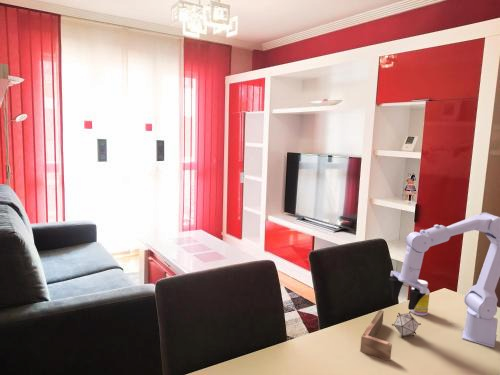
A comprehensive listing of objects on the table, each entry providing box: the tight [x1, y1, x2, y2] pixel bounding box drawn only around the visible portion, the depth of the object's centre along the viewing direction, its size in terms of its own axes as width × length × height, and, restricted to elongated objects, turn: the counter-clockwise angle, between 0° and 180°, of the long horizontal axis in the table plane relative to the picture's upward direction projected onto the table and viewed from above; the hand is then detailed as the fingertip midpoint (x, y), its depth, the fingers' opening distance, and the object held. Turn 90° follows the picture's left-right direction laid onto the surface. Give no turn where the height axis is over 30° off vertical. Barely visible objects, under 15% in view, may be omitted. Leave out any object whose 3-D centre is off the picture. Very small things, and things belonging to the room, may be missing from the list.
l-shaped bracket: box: [359, 309, 393, 362], centre depth 127 cm, size 9×24×5 cm, turn 148°
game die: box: [391, 310, 422, 339], centre depth 130 cm, size 9×8×10 cm
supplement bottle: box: [409, 279, 431, 317], centre depth 148 cm, size 7×7×13 cm
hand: (402, 303), depth 130 cm, fingers open, 7 cm apart
